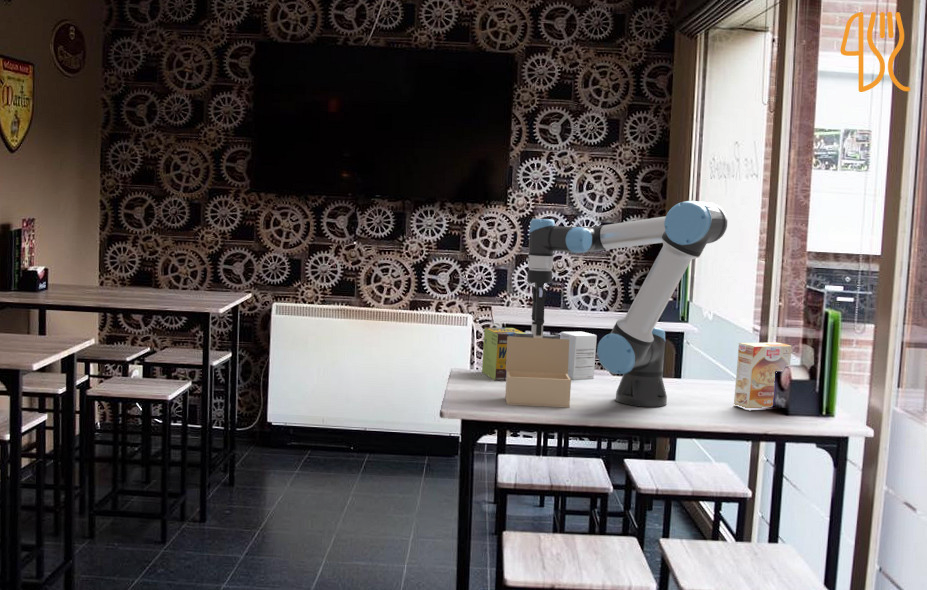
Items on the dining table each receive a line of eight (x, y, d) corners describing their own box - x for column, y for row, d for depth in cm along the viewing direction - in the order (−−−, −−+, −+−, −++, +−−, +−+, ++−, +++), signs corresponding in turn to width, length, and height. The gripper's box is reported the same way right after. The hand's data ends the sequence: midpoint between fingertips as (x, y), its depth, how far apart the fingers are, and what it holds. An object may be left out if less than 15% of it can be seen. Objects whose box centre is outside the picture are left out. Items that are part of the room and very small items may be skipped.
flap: (567, 373, 291) (564, 373, 300) (569, 335, 292) (565, 335, 301) (505, 370, 291) (504, 370, 300) (507, 332, 292) (505, 332, 301)
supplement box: (557, 375, 334) (560, 331, 333) (579, 373, 339) (581, 330, 337) (572, 379, 326) (575, 335, 325) (594, 378, 331) (597, 334, 329)
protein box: (494, 381, 318) (497, 333, 316) (481, 372, 332) (483, 326, 331) (525, 381, 320) (528, 333, 319) (510, 372, 335) (513, 327, 334)
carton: (565, 400, 292) (567, 373, 291) (569, 407, 282) (571, 379, 281) (505, 397, 291) (506, 370, 291) (506, 404, 282) (508, 376, 281)
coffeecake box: (748, 411, 289) (754, 346, 287) (732, 406, 295) (737, 342, 293) (787, 409, 295) (792, 345, 293) (770, 404, 302) (775, 341, 300)
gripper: (525, 267, 308) (522, 338, 310) (530, 271, 288) (526, 348, 290) (549, 268, 308) (545, 339, 310) (555, 272, 288) (552, 349, 290)
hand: (536, 343), depth 300 cm, fingers open, 8 cm apart
